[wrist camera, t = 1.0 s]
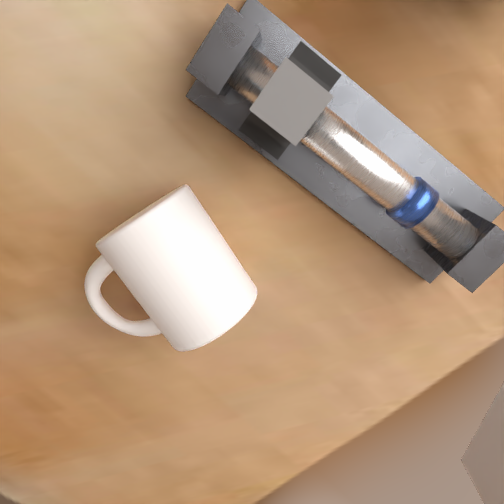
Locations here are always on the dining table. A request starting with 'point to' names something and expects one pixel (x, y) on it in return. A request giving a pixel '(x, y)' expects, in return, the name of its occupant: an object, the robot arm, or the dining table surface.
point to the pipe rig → (354, 155)
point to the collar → (290, 101)
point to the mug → (173, 273)
